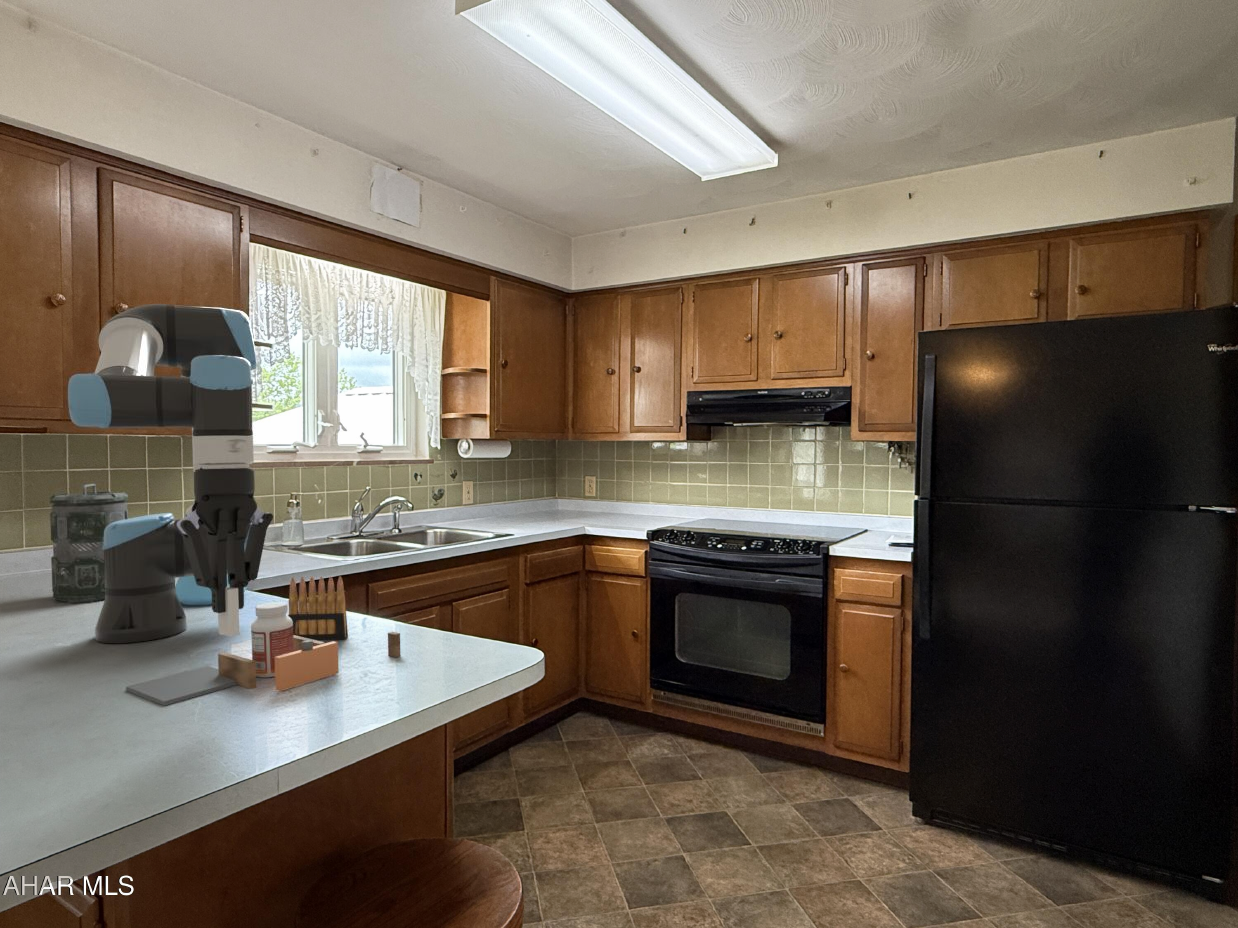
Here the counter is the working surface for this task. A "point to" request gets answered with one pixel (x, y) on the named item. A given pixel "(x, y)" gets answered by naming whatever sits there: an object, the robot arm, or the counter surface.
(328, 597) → the ammunition clip
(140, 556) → the robot arm
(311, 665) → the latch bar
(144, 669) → the counter surface
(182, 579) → the sugar bowl
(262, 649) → the pill bottle
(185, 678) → the mat
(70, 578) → the canister
